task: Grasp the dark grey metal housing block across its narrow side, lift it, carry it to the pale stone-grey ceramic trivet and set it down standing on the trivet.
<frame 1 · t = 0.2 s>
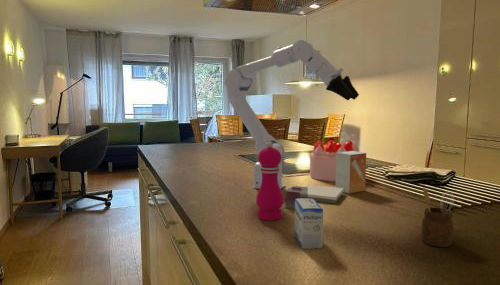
hand: (353, 97, 110), 31 cm above the worktop, tool tilted 45°, fingers open, 7 cm apart
housing: (296, 205, 105), on the worktop
pepper mill: (269, 217, 95), on the worktop
cake: (334, 177, 144), on the worktop
utensil holder: (436, 243, 77), on the worktop
trivet: (320, 196, 114), on the worktop
small box: (350, 191, 122), on the worktop
medicine box: (307, 242, 78), on the worktop
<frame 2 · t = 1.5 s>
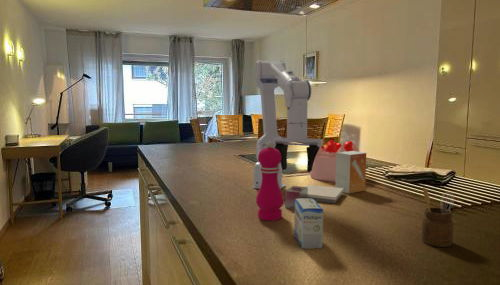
hand: (296, 170, 104), 10 cm above the worktop, tool pointing down, fingers open, 7 cm apart
nothing on the worktop moved.
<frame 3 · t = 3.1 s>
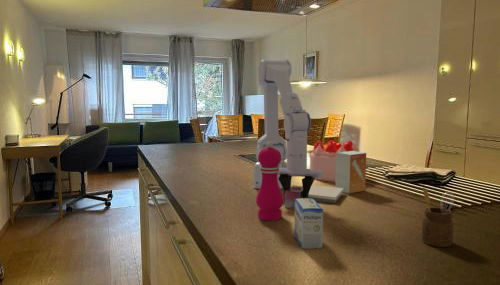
hand: (296, 200, 105), 1 cm above the worktop, tool pointing down, fingers closed on housing, 4 cm apart
housing: (296, 205, 105), on the worktop, touching gripper
everything else where it was.
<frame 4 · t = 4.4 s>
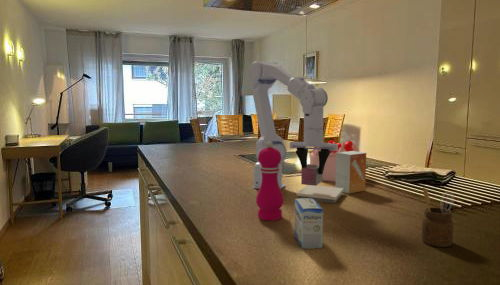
hand: (312, 172, 110), 8 cm above the worktop, tool pointing down, fingers closed on housing, 4 cm apart
housing: (312, 182, 110), point 5 cm above the worktop, touching gripper
everything else where it was.
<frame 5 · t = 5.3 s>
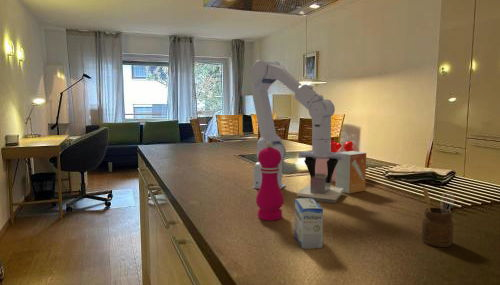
hand: (321, 181, 113), 5 cm above the worktop, tool pointing down, fingers closed on housing, 4 cm apart
housing: (320, 191, 113), point 2 cm above the worktop, touching gripper, trivet
everything else where it was.
when the fingers open (4 cm above the worktop, at t = 5.9 s): housing stays where it is, resting on trivet.
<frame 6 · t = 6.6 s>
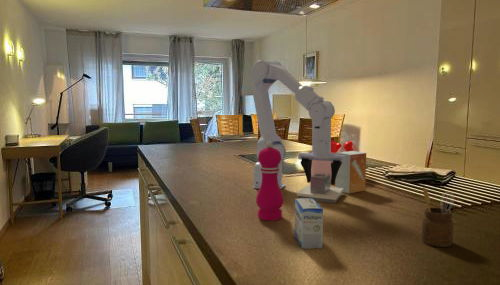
hand: (320, 183, 114), 4 cm above the worktop, tool pointing down, fingers open, 7 cm apart
housing: (320, 191, 113), point 2 cm above the worktop, touching trivet
everything else where it was.
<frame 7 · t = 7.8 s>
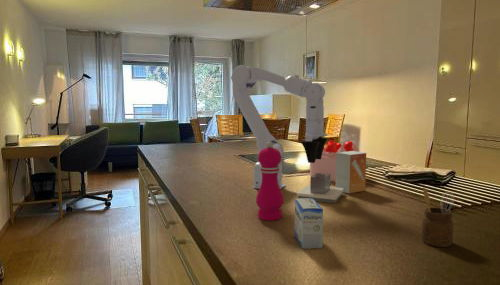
hand: (314, 160, 120), 10 cm above the worktop, tool pointing down, fingers open, 7 cm apart
nothing on the worktop moved.
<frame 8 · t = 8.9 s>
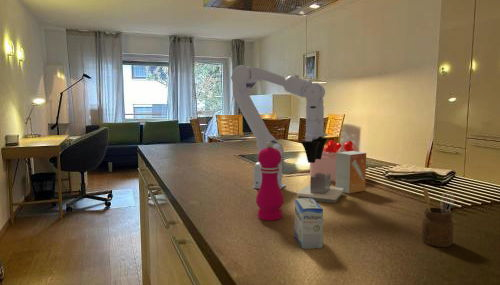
hand: (314, 160, 120), 10 cm above the worktop, tool pointing down, fingers open, 7 cm apart
nothing on the worktop moved.
at the end: housing inside the target area on the trivet (0.6 cm from its centre), point 2.0 cm above the trivet's base; housing tilted 0°; the gripper is holding nothing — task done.
